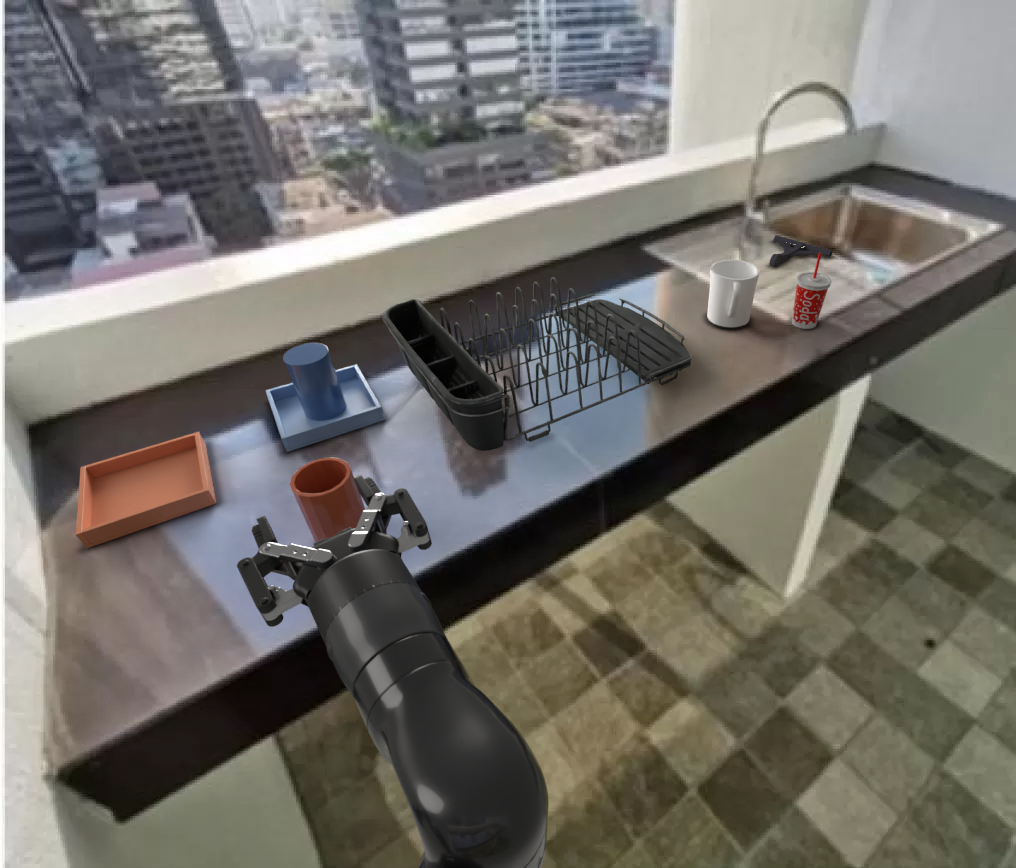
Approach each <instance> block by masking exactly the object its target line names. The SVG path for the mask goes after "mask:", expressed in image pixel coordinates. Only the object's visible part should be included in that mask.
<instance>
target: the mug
mask: <svg viewBox="0 0 1016 868" xmlns="http://www.w3.org/2000/svg"><path fill="white" fill-rule="evenodd" d="M760 271H761V270H760V268H759V266H757V265H756V264H754V263H752V262H750V261H747V260H742V259H722V260H718V261H715V262H713V263H712V264H711V265H710V270H709V289H708V290H709V291H708V304H707V311H706V312H707V315H706V319H707V321H708V323H709V324H710V325H711V326H713V327H716V328H718V329H722V330H728V331H731V330H732V331H733V330H735V331H736V330H741V329H743V328H745V327H746V326H747V325H748V324H749V323H750V320H751V319H750V318H751V313H752V309H753V303H754V298H755V294H756V288H757V284H758V281H759V277H760V273H761V272H760Z"/></svg>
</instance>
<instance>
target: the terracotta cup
mask: <svg viewBox="0 0 1016 868" xmlns="http://www.w3.org/2000/svg"><path fill="white" fill-rule="evenodd" d="M354 477H355V476H354V474H353V471H352V468H351V465H350V464H349V462H347V461H345V460H344V459H342V458H338V457H323V458H318V459H316V460H311V461H309V462H307V463H306V464H304V465H302V466H300V467H299V468H298V469H297V470H296V471H295V472H294V473H293V474H292V475H291V479H290V482H289V486H290V489H291V492H292V494H293V496H294V499H295V500H296V503H297V505H298V507H299V510H300V512H301V514H302V516H303V518H304V520H305V523H306V526H307V528H308V529H309V531H310V533H311V535H312V538H313V540H314V543H316V542H318V541H320V540H323V539H326V538H330V537H333V536H335V535H336V534H338V533H339V532H341V531H342V530H344V529H347V528H349V527H351V529H354V528H356V527H357V524H358V522H359V520H360V517H361V515H362V513H363V511H364V510H367V509H366V507H365V504H364V500H363V498H362V497H361V495H360V493H359V491H358V489H357V486H356V483H355V480H354Z"/></svg>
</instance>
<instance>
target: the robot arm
mask: <svg viewBox="0 0 1016 868" xmlns="http://www.w3.org/2000/svg"><path fill="white" fill-rule="evenodd" d="M354 480H355V483H356V486H357V489H358V491H359V493H360V496H361V498H362V501H363V502H364V503H365V505H366V506H367V509H366V510H364V511H363V513H362V515H361V517H360V520H359V522H358V524H357V527H356V528H354V529H351V527H349V528H347V529H344V530H342V531H341V532H339V533H338V534H336V535H335V536H333V537H330V538H326V539H323V540H320V541H318V542H314V543H313V546H312V547H308V546H304V545H300V544H296V543H289V544H288V545H284V544H281V543H279V541H278V539H277V536H276V534H275V532H274V530H273V528H272V526H271V524H270V522H269V520H268V518H267V516H266V515H262V516H259V517H258V518H256V522H257V524H255V525H253V526H252V528H251V533H252V536H253V538H254V540H255V543H256V546H257V548H258V550H257V552H256V554H255V555H254V556H251V557H250V556H249V557H244V558H242V559H240V560H239V561H238V562H237V564H236V568H237V570H238V572H239V574H240V576H241V578H242V580H243V583H244V584H245V588H246V589H247V591H248V593H249V595H250V597H251V600H252V601H253V603H254V606H255V607H256V609H257V610H258V612H259V614H260V616H261V618H262V619H263V620H264V622H265V624H266V625H267V626H268V627H272V628H273V627H277V626H279V625H280V624H281V623H282V622H283V621H284V615H283V614H284V613H285V612H287V611H290V610H291V609H293V608H295V607H296V606H298V605H303V606H306V607H307V608H308V609H309V611H310V614H311V616H312V618H313V621H314V623H315V625H316V627H317V629H318V632H319V634H320V636H321V639H322V641H323V643H324V645H325V648H326V653H327V656H328V658H329V659H330V660H331V662H332V664H333V666H334V668H335V671H336V673H337V674H338V677H339V679H340V681H342V683H343V685H344V687H346V690H348V692H349V693H350V695H351V697H352V699H353V700H354V702H355V705H356V707H357V709H358V712H359V714H360V716H361V717H362V718H361V719H362V720H363V722H364V725H365V728H366V729H367V731H368V734H369V736H370V738H371V740H372V742H373V744H374V745H375V747H376V749H377V750H378V752H379V754H380V755H381V757H382V758H383V759H384V760H385V761H387V762H386V763H388V764H389V765H391V766H392V768H393V770H394V773H395V776H396V778H397V780H398V783H399V785H400V787H401V790H402V793H403V794H404V797H405V799H406V802H407V804H408V807H409V809H410V812H411V814H412V817H413V820H414V823H415V826H416V829H417V831H418V835H419V837H420V840H421V845H422V848H423V853H422V856H421V858H420V860H419V863H418V864H417V867H416V868H543V865H544V860H545V856H546V849H547V839H548V821H549V820H548V819H549V792H548V787H547V782H546V778H545V776H544V773H543V771H542V768H541V765H540V764H539V761H538V759H537V757H536V756H535V753H534V752H533V750H532V748H531V746H530V745H529V744H528V742H527V741H526V739H525V738H524V736H523V735H522V733H521V732H520V731H519V730H518V727H516V726H515V724H514V723H513V722H512V721H511V720H510V719H509V718H508V716H507V715H506V714H505V713H504V712H503V711H502V710H501V709H500V708H499V707H498V706H497V704H495V703H494V702H493V701H492V700H491V699H490V698H489V697H488V696H487V695H486V694H485V693H484V692H483V691H482V690H481V689H480V688H479V687H477V686H476V685H475V683H474V681H473V679H472V677H471V675H470V673H469V671H468V670H467V668H466V666H465V665H464V663H463V661H462V660H461V658H460V657H459V655H458V653H457V652H456V650H455V648H454V647H453V645H452V644H451V642H450V641H449V639H448V637H447V635H446V633H445V631H444V628H443V625H442V623H441V621H440V619H439V617H438V614H437V613H436V611H435V610H434V608H433V607H432V601H431V600H430V599H429V598H428V596H427V595H426V594H425V593H424V592H423V590H422V589H421V588H420V585H418V583H417V581H416V579H415V578H414V576H413V574H412V573H411V572H410V570H409V569H408V567H407V565H406V563H405V562H404V560H403V559H402V555H403V553H404V552H407V551H409V550H411V549H413V548H415V547H417V548H418V549H419V550H421V551H424V550H428V549H430V548H431V547H432V545H433V542H432V539H431V534H430V530H429V528H428V524H427V521H426V520H425V518H424V517H423V514H422V513H421V512H420V510H419V508H418V506H417V505H416V503H415V501H414V499H413V498H412V496H411V494H410V493H409V491H408V490H407V489H406V488H405V487H401V488H397V489H396V490H394V491H393V493H392V494H385V493H383V492H382V491H381V489H380V488H379V486H378V484H377V483H376V482H375V481H374V479H373V478H372V477H369V476H366V477H365V478H364V477H363V474H359V475H356V476H354ZM396 515H400V517H401V519H402V520H403V523H402V524H403V525H402V526H401V527H400V532H401V533H400V536H398V537H395V536H393V535H391V534H388V533H387V532H388V531H387V530H388V527H389V524H390V521H391V519H392V516H396ZM271 573H273V574H274V573H275V574H278V575H282V576H287V577H289V578H290V579H291V580H292V581H293V583H292V589H289V590H285V589H283V588H282V587H281V586H275V585H274V584H270V585H268V584H267V582H266V579H265V578H266V576H268V575H269V574H271Z"/></svg>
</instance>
